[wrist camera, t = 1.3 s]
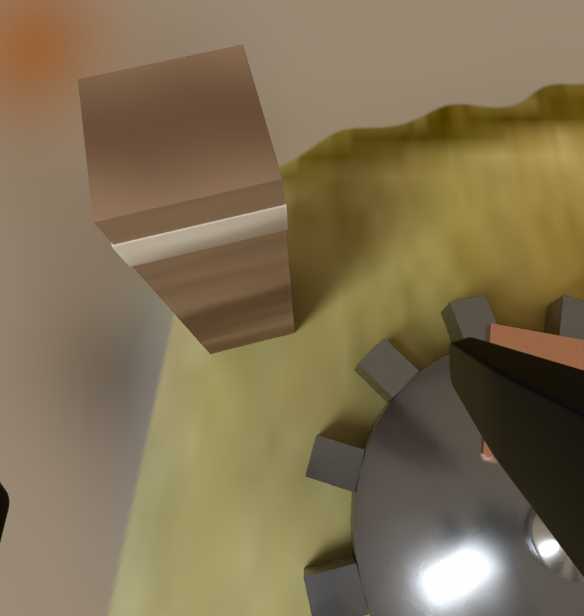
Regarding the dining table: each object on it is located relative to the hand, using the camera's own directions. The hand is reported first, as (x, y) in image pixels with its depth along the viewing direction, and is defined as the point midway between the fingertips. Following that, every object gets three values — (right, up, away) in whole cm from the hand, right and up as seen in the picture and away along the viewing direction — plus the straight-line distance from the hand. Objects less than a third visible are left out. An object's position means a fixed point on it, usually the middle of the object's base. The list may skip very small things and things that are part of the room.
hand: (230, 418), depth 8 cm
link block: (-1, +2, +15) cm, 15 cm away
